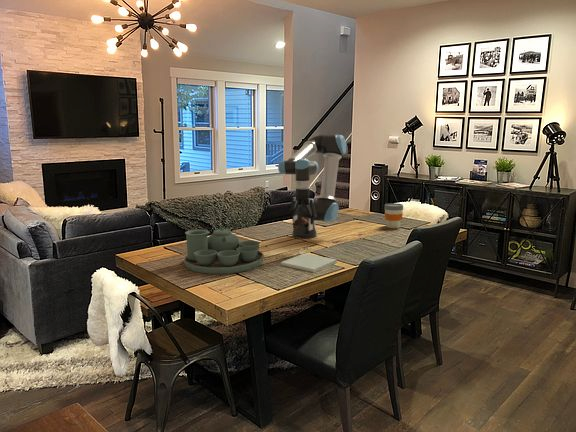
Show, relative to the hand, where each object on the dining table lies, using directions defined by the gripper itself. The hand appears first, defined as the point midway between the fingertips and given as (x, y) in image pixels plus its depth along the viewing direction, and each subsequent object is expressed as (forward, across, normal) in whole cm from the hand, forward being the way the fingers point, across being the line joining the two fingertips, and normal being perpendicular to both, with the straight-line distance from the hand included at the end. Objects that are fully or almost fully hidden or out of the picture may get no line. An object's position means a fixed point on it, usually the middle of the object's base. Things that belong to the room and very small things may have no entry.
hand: (303, 228), depth 253 cm
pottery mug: (+1, 0, 0) cm, 1 cm away
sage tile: (+12, +17, -18) cm, 28 cm away
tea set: (+12, -19, -42) cm, 47 cm away
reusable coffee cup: (+14, +13, +85) cm, 88 cm away
